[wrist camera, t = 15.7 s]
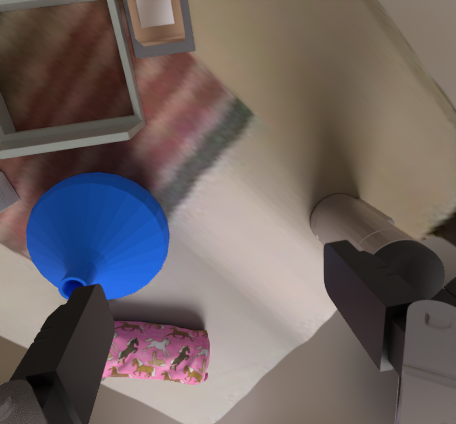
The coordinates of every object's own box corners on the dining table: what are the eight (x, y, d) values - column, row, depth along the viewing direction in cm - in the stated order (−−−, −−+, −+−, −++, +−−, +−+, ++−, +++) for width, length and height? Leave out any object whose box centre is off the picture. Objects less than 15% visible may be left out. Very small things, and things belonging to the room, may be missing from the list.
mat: (184, -20, 39) (184, -22, 38) (195, 50, 42) (195, 50, 41) (120, -13, 38) (119, -14, 38) (136, 58, 41) (135, 58, 41)
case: (115, -10, 38) (79, -59, 25) (146, 125, 45) (129, 140, 32) (-46, 9, 37) (-170, -32, 24) (9, 145, 44) (-66, 169, 31)
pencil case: (95, 348, 59) (80, 390, 51) (98, 310, 56) (83, 348, 48) (204, 356, 63) (207, 396, 55) (213, 320, 60) (217, 357, 52)
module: (177, -9, 39) (174, -29, 32) (185, 41, 41) (184, 31, 34) (133, -3, 38) (121, -23, 31) (143, 46, 40) (134, 38, 34)
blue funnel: (184, 180, 49) (183, 232, 31) (157, 275, 54) (142, 365, 37) (61, 145, 44) (-22, 183, 27) (46, 253, 50) (-30, 342, 33)
